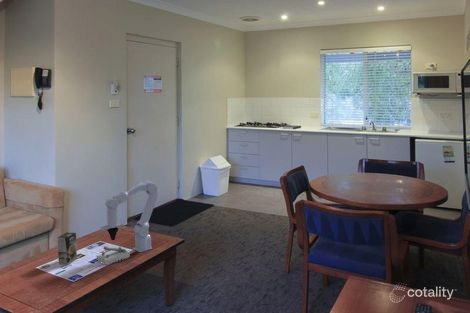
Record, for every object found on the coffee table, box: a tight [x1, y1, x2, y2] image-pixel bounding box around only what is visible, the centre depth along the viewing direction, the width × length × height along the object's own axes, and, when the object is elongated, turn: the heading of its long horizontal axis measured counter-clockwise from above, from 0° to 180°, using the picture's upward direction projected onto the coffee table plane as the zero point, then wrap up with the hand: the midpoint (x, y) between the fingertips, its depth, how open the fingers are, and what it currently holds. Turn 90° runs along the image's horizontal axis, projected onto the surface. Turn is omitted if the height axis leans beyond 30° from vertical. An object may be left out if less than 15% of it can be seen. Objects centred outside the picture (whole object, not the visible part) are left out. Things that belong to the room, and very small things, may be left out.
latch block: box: [96, 247, 131, 265], centre depth 236 cm, size 16×10×5 cm, turn 138°
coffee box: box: [57, 232, 78, 265], centre depth 231 cm, size 9×6×16 cm
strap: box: [103, 246, 124, 251], centre depth 236 cm, size 12×3×2 cm, turn 140°
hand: (112, 239), depth 239 cm, fingers closed
